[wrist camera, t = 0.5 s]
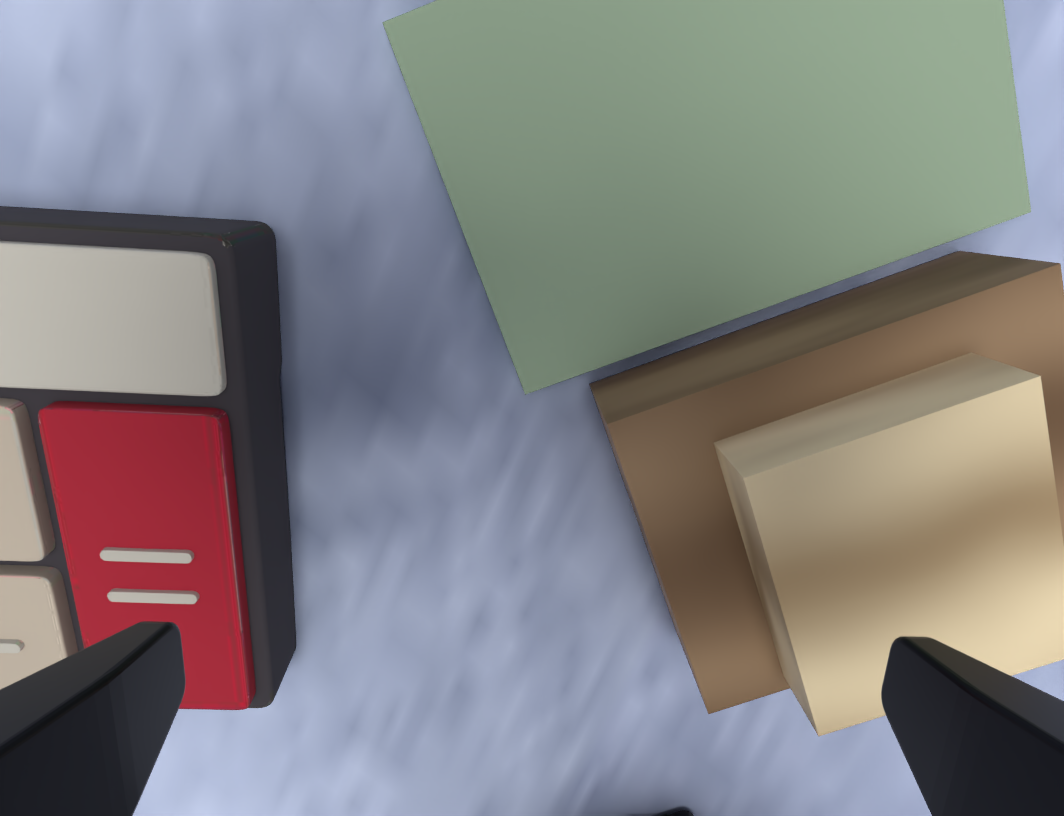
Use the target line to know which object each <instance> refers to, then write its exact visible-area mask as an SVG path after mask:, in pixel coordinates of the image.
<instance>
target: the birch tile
mask: <svg viewBox="0 0 1064 816" xmlns="http://www.w3.org/2000/svg"><path fill="white" fill-rule="evenodd" d="M714 446H715V449H716V453H717V456H718V459H719V463H720V466H721V469H722V473H723V476H724V479H725V483H726V486H727V489H728V493H729V496H730V499H731V503H732V506H733V509H734V513H735V516H736V519H737V523H738V526H739V529H740V532H741V536H742V539H743V542H744V546H745V549H746V552H747V556H748V559H749V562H750V566H751V569H752V572H753V576H754V579H755V582H756V586H757V589H758V592H759V596H760V599H761V602H762V606H763V609H764V612H765V616H766V619H767V622H768V625H769V629H770V632H771V635H772V639H773V642H774V645H775V649H776V652H777V655H778V659H779V662H780V665H781V669H782V672H783V675H784V677H785V679H786V681H787V683H788V684H789V686H790V688H791V689H792V691H793V693H794V695H795V696H796V698H797V700H798V702H799V703H800V705H801V707H802V708H803V710H804V712H805V714H806V715H807V717H808V719H809V721H810V722H811V724H812V726H813V727H814V729H815V731H816V733H817V734H818V736H821V735H825V734H828V733H831V732H834V731H837V730H841V729H844V728H847V727H850V726H853V725H856V724H860V723H863V722H866V721H869V720H872V719H875V718H879V717H882V716H885V715H886V714H885V712H884V709H883V705H882V700H881V690H882V684H883V680H884V675H885V671H886V666H887V661H888V657H889V652H890V648H891V645H892V643H893V641H894V640H895V639H896V638H898V637H901V636H917V637H930V638H933V639H935V640H937V641H939V642H941V643H944V644H946V645H948V646H950V647H952V648H954V649H956V650H958V651H960V652H962V653H964V654H966V655H968V656H971V657H973V658H975V659H977V660H979V661H981V662H983V663H985V664H987V665H989V666H991V667H993V668H995V669H998V670H1000V671H1002V672H1004V673H1006V674H1008V675H1010V676H1012V675H1015V674H1018V673H1022V672H1025V671H1028V670H1031V669H1034V668H1037V667H1041V666H1044V665H1047V664H1050V663H1053V662H1057V661H1060V660H1063V659H1064V543H1063V536H1062V528H1061V521H1060V514H1059V506H1058V499H1057V492H1056V484H1055V477H1054V470H1053V463H1052V455H1051V448H1050V441H1049V433H1048V426H1047V419H1046V411H1045V404H1044V397H1043V389H1042V382H1041V376H1039V375H1036V374H1033V373H1030V372H1027V371H1024V370H1022V369H1019V368H1016V367H1013V366H1010V365H1007V364H1004V363H1001V362H998V361H995V360H992V359H989V358H986V357H983V356H980V355H977V354H974V353H969V354H966V355H963V356H960V357H957V358H954V359H952V360H949V361H946V362H943V363H940V364H937V365H934V366H931V367H929V368H926V369H923V370H920V371H917V372H914V373H911V374H909V375H906V376H903V377H900V378H897V379H894V380H891V381H889V382H886V383H883V384H880V385H877V386H874V387H871V388H868V389H866V390H863V391H860V392H857V393H854V394H851V395H848V396H846V397H843V398H840V399H837V400H834V401H831V402H828V403H825V404H823V405H820V406H817V407H814V408H811V409H808V410H805V411H803V412H800V413H797V414H794V415H791V416H788V417H785V418H782V419H780V420H777V421H774V422H771V423H768V424H765V425H762V426H760V427H757V428H754V429H751V430H748V431H745V432H742V433H740V434H737V435H734V436H731V437H728V438H725V439H722V440H719V441H717V442H714Z"/></svg>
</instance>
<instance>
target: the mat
mask: <svg viewBox="0 0 1064 816" xmlns="http://www.w3.org/2000/svg"><path fill="white" fill-rule="evenodd" d="M382 23H383V25H384V28H385V30H386V33H387V36H388V38H389V41H390V44H391V46H392V49H393V51H394V54H395V57H396V59H397V62H398V64H399V67H400V70H401V72H402V75H403V77H404V80H405V83H406V85H407V88H408V90H409V93H410V96H411V98H412V101H413V103H414V106H415V109H416V111H417V114H418V116H419V119H420V122H421V124H422V127H423V129H424V132H425V135H426V137H427V140H428V142H429V145H430V148H431V150H432V153H433V155H434V158H435V161H436V163H437V166H438V169H439V171H440V174H441V176H442V179H443V182H444V184H445V187H446V189H447V192H448V195H449V197H450V200H451V202H452V205H453V208H454V210H455V213H456V215H457V218H458V221H459V223H460V226H461V228H462V231H463V234H464V236H465V239H466V241H467V244H468V247H469V249H470V252H471V254H472V257H473V260H474V262H475V265H476V267H477V270H478V273H479V275H480V278H481V280H482V283H483V286H484V288H485V291H486V294H487V296H488V299H489V301H490V304H491V307H492V309H493V312H494V314H495V317H496V320H497V322H498V325H499V327H500V330H501V333H502V335H503V338H504V340H505V343H506V346H507V348H508V351H509V353H510V356H511V359H512V361H513V364H514V366H515V369H516V372H517V374H518V377H519V379H520V382H521V385H522V387H523V390H524V392H525V395H526V394H528V393H531V392H534V391H537V390H539V389H542V388H545V387H548V386H551V385H553V384H556V383H559V382H562V381H564V380H567V379H570V378H573V377H575V376H578V375H581V374H584V373H587V372H589V371H592V370H595V369H598V368H600V367H603V366H606V365H609V364H611V363H614V362H617V361H620V360H623V359H625V358H628V357H631V356H634V355H636V354H639V353H642V352H645V351H647V350H650V349H653V348H656V347H659V346H661V345H664V344H667V343H670V342H672V341H675V340H678V339H681V338H683V337H686V336H689V335H692V334H695V333H697V332H700V331H703V330H706V329H708V328H711V327H714V326H717V325H719V324H722V323H725V322H728V321H731V320H733V319H736V318H739V317H742V316H744V315H747V314H750V313H753V312H755V311H758V310H761V309H764V308H767V307H769V306H772V305H775V304H778V303H780V302H783V301H786V300H789V299H791V298H794V297H797V296H800V295H803V294H805V293H808V292H811V291H814V290H816V289H819V288H822V287H825V286H827V285H830V284H833V283H836V282H839V281H841V280H844V279H847V278H850V277H852V276H855V275H858V274H861V273H863V272H866V271H869V270H872V269H875V268H877V267H880V266H883V265H886V264H888V263H891V262H894V261H897V260H899V259H902V258H905V257H908V256H911V255H913V254H916V253H919V252H922V251H924V250H927V249H930V248H933V247H935V246H938V245H941V244H944V243H947V242H949V241H952V240H955V239H958V238H960V237H963V236H966V235H969V234H971V233H974V232H977V231H980V230H983V229H985V228H988V227H991V226H994V225H996V224H999V223H1002V222H1005V221H1007V220H1010V219H1013V218H1016V217H1019V216H1021V215H1024V214H1027V213H1030V212H1031V208H1030V200H1029V192H1028V185H1027V177H1026V169H1025V162H1024V154H1023V146H1022V139H1021V131H1020V124H1019V116H1018V108H1017V101H1016V93H1015V85H1014V78H1013V70H1012V63H1011V55H1010V47H1009V40H1008V32H1007V24H1006V17H1005V9H1004V2H1003V0H436V1H434V2H432V3H429V4H427V5H424V6H422V7H419V8H417V9H414V10H412V11H409V12H407V13H405V14H402V15H400V16H397V17H395V18H392V19H390V20H387V21H385V22H382Z"/></svg>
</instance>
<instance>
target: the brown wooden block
mask: <svg viewBox="0 0 1064 816" xmlns="http://www.w3.org/2000/svg"><path fill="white" fill-rule="evenodd" d="M969 353H974V354H977V355H980V356H983V357H986V358H989V359H992V360H995V361H998V362H1001V363H1004V364H1007V365H1010V366H1013V367H1016V368H1019V369H1022V370H1024V371H1027V372H1030V373H1033V374H1036V375H1039V376H1041V382H1042V389H1043V397H1044V404H1045V411H1046V419H1047V426H1048V433H1049V441H1050V448H1051V455H1052V463H1053V470H1054V477H1055V484H1056V492H1057V499H1058V506H1059V514H1060V521H1061V528H1062V536H1063V543H1064V290H1063V282H1062V273H1061V265H1060V263H1052V262H1044V261H1036V260H1028V259H1020V258H1012V257H1004V256H996V255H988V254H980V253H972V252H964V251H957V252H955V253H952V254H949V255H946V256H943V257H941V258H938V259H935V260H932V261H930V262H927V263H924V264H921V265H918V266H916V267H913V268H910V269H907V270H905V271H902V272H899V273H896V274H893V275H891V276H888V277H885V278H882V279H880V280H877V281H874V282H871V283H868V284H866V285H863V286H860V287H857V288H855V289H852V290H849V291H846V292H843V293H841V294H838V295H835V296H832V297H830V298H827V299H824V300H821V301H818V302H816V303H813V304H810V305H807V306H805V307H802V308H799V309H796V310H793V311H791V312H788V313H785V314H782V315H779V316H777V317H774V318H771V319H768V320H766V321H763V322H760V323H757V324H754V325H752V326H749V327H746V328H743V329H741V330H738V331H735V332H732V333H729V334H727V335H724V336H721V337H718V338H716V339H713V340H710V341H707V342H704V343H702V344H699V345H696V346H693V347H691V348H688V349H685V350H682V351H679V352H677V353H674V354H671V355H668V356H666V357H663V358H660V359H657V360H654V361H652V362H649V363H646V364H643V365H641V366H638V367H635V368H632V369H629V370H627V371H624V372H621V373H618V374H616V375H613V376H610V377H607V378H604V379H602V380H599V381H596V382H593V383H590V384H589V385H590V387H591V390H592V393H593V396H594V399H595V402H596V404H597V407H598V410H599V413H600V416H601V419H602V421H603V424H604V427H605V430H606V433H607V436H608V439H609V441H610V444H611V447H612V450H613V453H614V456H615V458H616V461H617V464H618V467H619V470H620V473H621V476H622V478H623V481H624V484H625V487H626V490H627V493H628V495H629V498H630V501H631V504H632V507H633V510H634V512H635V515H636V518H637V521H638V524H639V527H640V530H641V532H642V535H643V538H644V541H645V544H646V547H647V549H648V552H649V555H650V558H651V561H652V564H653V567H654V569H655V572H656V575H657V578H658V581H659V584H660V586H661V589H662V592H663V595H664V598H665V601H666V603H667V606H668V609H669V612H670V615H671V618H672V621H673V623H674V626H675V629H676V632H677V635H678V637H679V640H680V642H681V645H682V647H683V650H684V653H685V655H686V658H687V660H688V663H689V665H690V668H691V670H692V673H693V675H694V678H695V681H696V683H697V686H698V688H699V691H700V693H701V696H702V698H703V701H704V704H705V706H706V709H707V711H708V714H711V713H714V712H717V711H720V710H723V709H726V708H729V707H733V706H736V705H739V704H742V703H745V702H748V701H751V700H754V699H757V698H761V697H764V696H767V695H770V694H773V693H776V692H779V691H782V690H786V689H789V688H790V686H789V684H788V683H787V681H786V679H785V677H784V675H783V672H782V669H781V665H780V662H779V659H778V655H777V652H776V649H775V645H774V642H773V639H772V635H771V632H770V629H769V625H768V622H767V619H766V616H765V612H764V609H763V606H762V602H761V599H760V596H759V592H758V589H757V586H756V582H755V579H754V576H753V572H752V569H751V566H750V562H749V559H748V556H747V552H746V549H745V546H744V542H743V539H742V536H741V532H740V529H739V526H738V523H737V519H736V516H735V513H734V509H733V506H732V503H731V499H730V496H729V493H728V489H727V486H726V483H725V479H724V476H723V473H722V469H721V466H720V463H719V459H718V456H717V453H716V449H715V446H714V442H717V441H719V440H722V439H725V438H728V437H731V436H734V435H737V434H740V433H742V432H745V431H748V430H751V429H754V428H757V427H760V426H762V425H765V424H768V423H771V422H774V421H777V420H780V419H782V418H785V417H788V416H791V415H794V414H797V413H800V412H803V411H805V410H808V409H811V408H814V407H817V406H820V405H823V404H825V403H828V402H831V401H834V400H837V399H840V398H843V397H846V396H848V395H851V394H854V393H857V392H860V391H863V390H866V389H868V388H871V387H874V386H877V385H880V384H883V383H886V382H889V381H891V380H894V379H897V378H900V377H903V376H906V375H909V374H911V373H914V372H917V371H920V370H923V369H926V368H929V367H931V366H934V365H937V364H940V363H943V362H946V361H949V360H952V359H954V358H957V357H960V356H963V355H966V354H969Z"/></svg>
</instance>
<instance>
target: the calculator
mask: <svg viewBox="0 0 1064 816" xmlns="http://www.w3.org/2000/svg"><path fill="white" fill-rule="evenodd" d="M281 362H282V355H281V333H280V313H279V294H278V274H277V255H276V240H275V235H274V232H273V231H272V229H271V228H270V227H269V226H268V225H267V224H265V223H262V222H257V221H244V220H228V219H211V218H194V217H177V216H160V215H142V214H125V213H108V212H91V211H74V210H57V209H40V208H23V207H6V206H0V689H2V688H4V687H6V686H8V685H10V684H13V683H15V682H17V681H19V680H21V679H23V678H25V677H27V676H29V675H31V674H33V673H35V672H37V671H39V670H41V669H43V668H46V667H48V666H50V665H52V664H54V663H56V662H58V661H60V660H62V659H64V658H66V657H68V656H70V655H72V654H74V653H76V652H79V651H81V650H83V649H85V648H87V647H89V646H91V645H93V644H95V643H97V642H99V641H101V640H103V639H105V638H107V637H110V636H112V635H114V634H116V633H118V632H120V631H122V630H124V629H126V628H128V627H130V626H132V625H134V624H136V623H139V622H143V621H157V622H173V623H175V624H176V625H177V626H178V628H179V630H180V634H181V641H182V650H183V659H184V668H185V678H186V684H185V692H184V696H183V699H182V702H181V704H180V706H179V709H213V710H243V709H247V708H263V707H266V706H268V705H270V704H271V703H272V701H273V700H274V698H275V695H276V693H277V691H278V689H279V686H280V684H281V682H282V679H283V677H284V675H285V672H286V670H287V668H288V665H289V663H290V661H291V658H292V656H293V654H294V651H295V648H296V629H295V609H294V590H293V571H292V553H291V535H290V520H289V506H288V492H287V477H286V463H285V449H284V435H283V421H282V406H281V392H280V371H281Z"/></svg>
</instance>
